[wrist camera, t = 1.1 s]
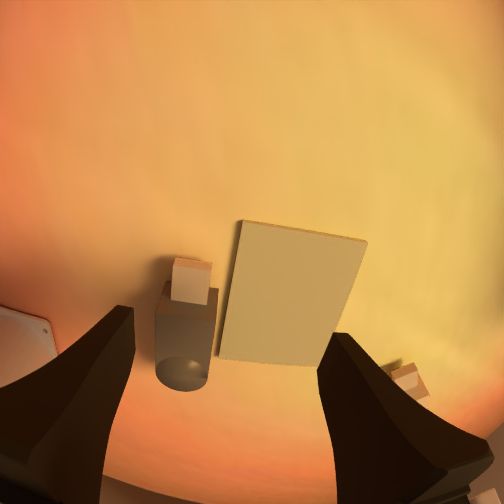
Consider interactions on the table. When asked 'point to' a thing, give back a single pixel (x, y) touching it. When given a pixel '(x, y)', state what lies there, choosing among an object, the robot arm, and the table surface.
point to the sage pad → (287, 293)
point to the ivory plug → (411, 383)
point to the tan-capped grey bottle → (185, 326)
